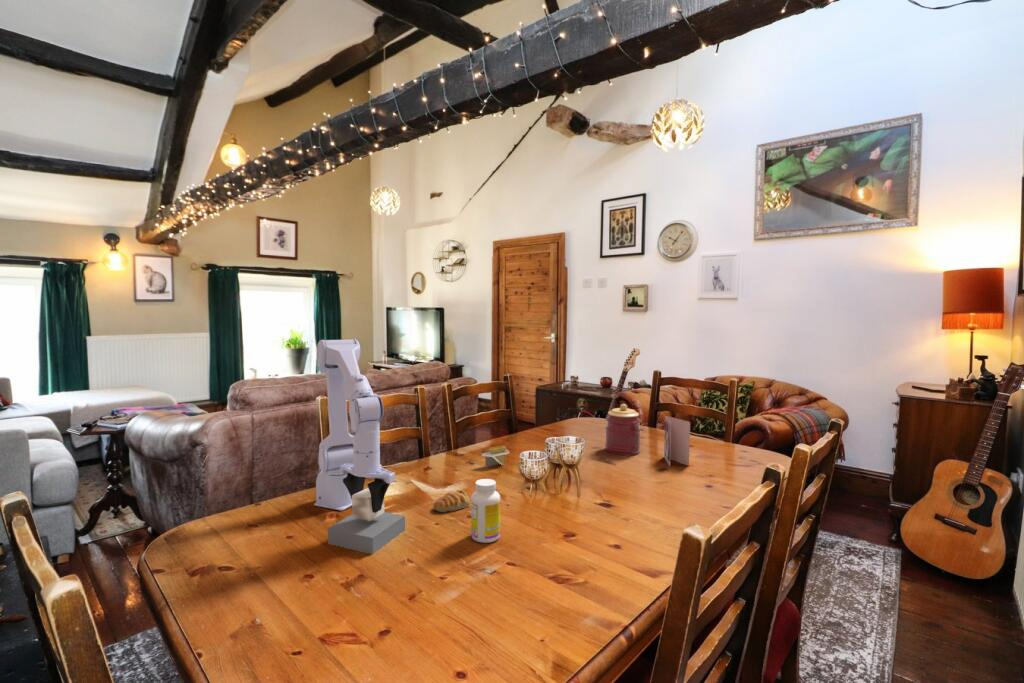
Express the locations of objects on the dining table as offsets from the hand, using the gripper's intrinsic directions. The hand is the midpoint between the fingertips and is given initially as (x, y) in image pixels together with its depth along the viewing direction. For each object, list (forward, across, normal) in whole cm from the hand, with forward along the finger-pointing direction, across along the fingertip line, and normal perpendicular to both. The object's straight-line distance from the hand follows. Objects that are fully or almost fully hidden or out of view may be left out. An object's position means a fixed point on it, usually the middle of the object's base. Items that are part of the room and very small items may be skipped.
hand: (367, 508), depth 109 cm
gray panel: (+7, 0, 0) cm, 7 cm away
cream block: (+2, 0, 0) cm, 2 cm away
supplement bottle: (+7, -24, -12) cm, 28 cm away
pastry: (+7, -8, -23) cm, 26 cm away
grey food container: (+7, -3, -58) cm, 59 cm away
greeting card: (+7, -56, -90) cm, 106 cm away
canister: (+7, -37, -95) cm, 102 cm away
